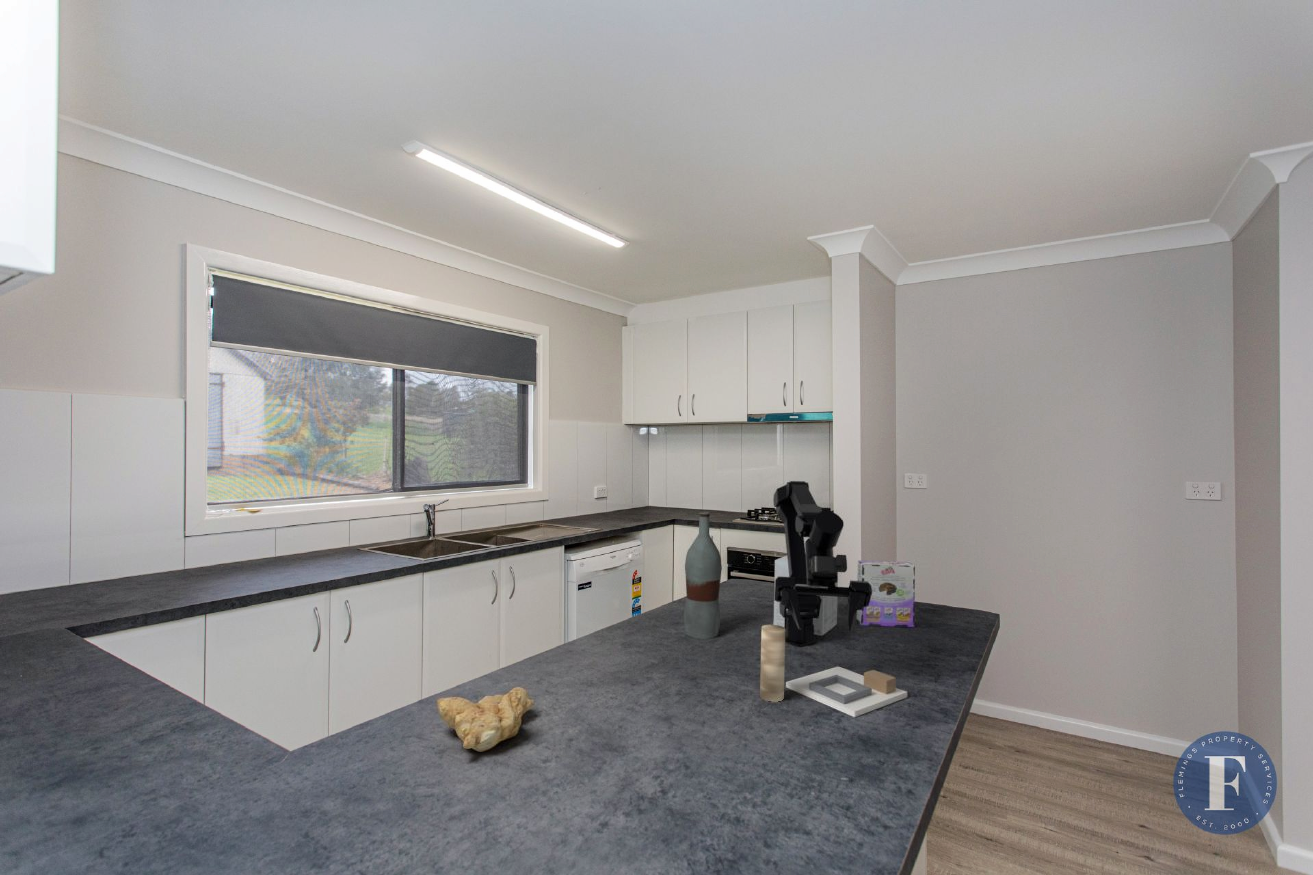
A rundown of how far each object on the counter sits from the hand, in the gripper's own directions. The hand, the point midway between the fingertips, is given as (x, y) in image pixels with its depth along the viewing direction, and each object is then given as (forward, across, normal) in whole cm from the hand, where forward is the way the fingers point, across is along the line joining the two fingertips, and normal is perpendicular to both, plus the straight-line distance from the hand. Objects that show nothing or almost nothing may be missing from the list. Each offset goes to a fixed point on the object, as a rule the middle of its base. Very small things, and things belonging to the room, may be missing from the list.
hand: (824, 630), depth 123 cm
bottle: (-13, -26, +31) cm, 42 cm away
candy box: (-27, +22, +45) cm, 57 cm away
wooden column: (+12, -10, +4) cm, 16 cm away
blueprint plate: (+8, +4, +8) cm, 13 cm away
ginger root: (+30, -55, -13) cm, 64 cm away
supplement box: (-22, 0, +40) cm, 46 cm away
